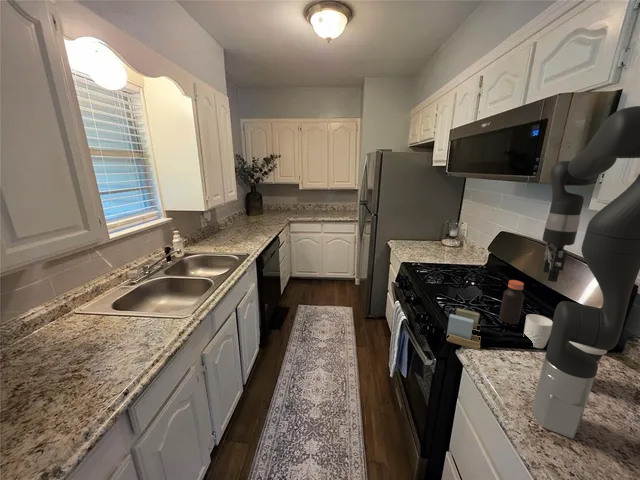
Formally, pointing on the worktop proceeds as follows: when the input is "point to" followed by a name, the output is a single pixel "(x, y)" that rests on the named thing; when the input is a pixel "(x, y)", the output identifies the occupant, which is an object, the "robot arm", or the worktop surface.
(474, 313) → the dish rack
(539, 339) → the white cup
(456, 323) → the pale blue-grey block
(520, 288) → the bottle
